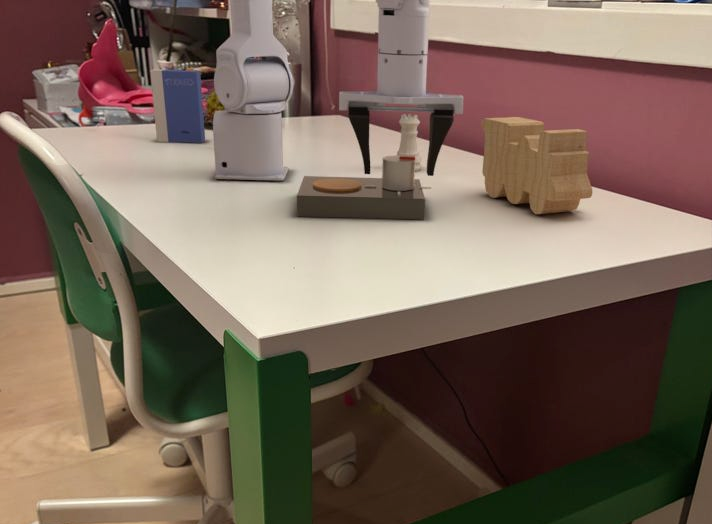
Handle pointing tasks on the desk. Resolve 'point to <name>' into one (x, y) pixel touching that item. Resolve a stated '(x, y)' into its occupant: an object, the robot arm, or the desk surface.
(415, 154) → the rook chess piece
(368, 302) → the desk surface
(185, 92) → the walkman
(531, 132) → the toy train
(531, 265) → the desk surface
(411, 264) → the desk surface
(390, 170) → the hob knob
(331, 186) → the burner
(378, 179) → the hob
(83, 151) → the desk surface
